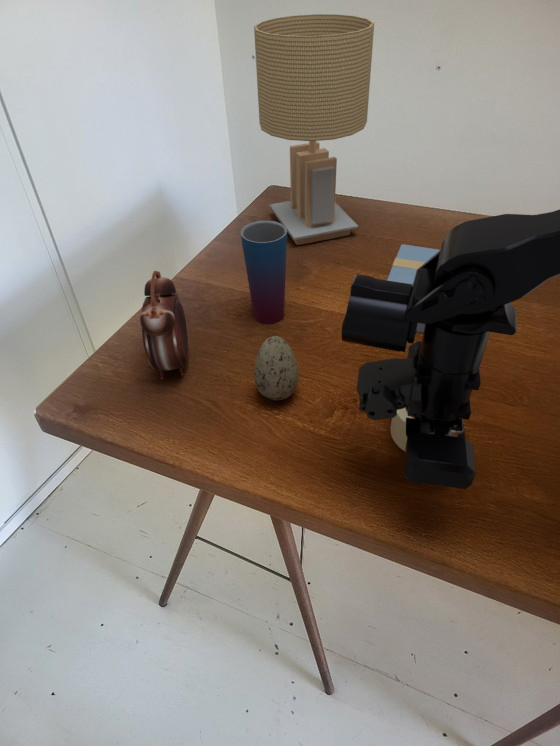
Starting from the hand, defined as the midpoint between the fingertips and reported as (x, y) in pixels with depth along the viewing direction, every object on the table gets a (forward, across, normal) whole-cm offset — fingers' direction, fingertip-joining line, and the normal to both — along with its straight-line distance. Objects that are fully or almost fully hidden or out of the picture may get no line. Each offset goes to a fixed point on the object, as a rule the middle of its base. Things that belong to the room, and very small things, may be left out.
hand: (424, 457), depth 60 cm
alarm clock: (+2, -13, -36) cm, 38 cm away
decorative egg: (+2, -9, -19) cm, 22 cm away
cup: (+2, -28, -24) cm, 37 cm away
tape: (+2, -6, 0) cm, 6 cm away
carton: (+2, -32, +1) cm, 32 cm away
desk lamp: (+2, -60, -22) cm, 64 cm away
